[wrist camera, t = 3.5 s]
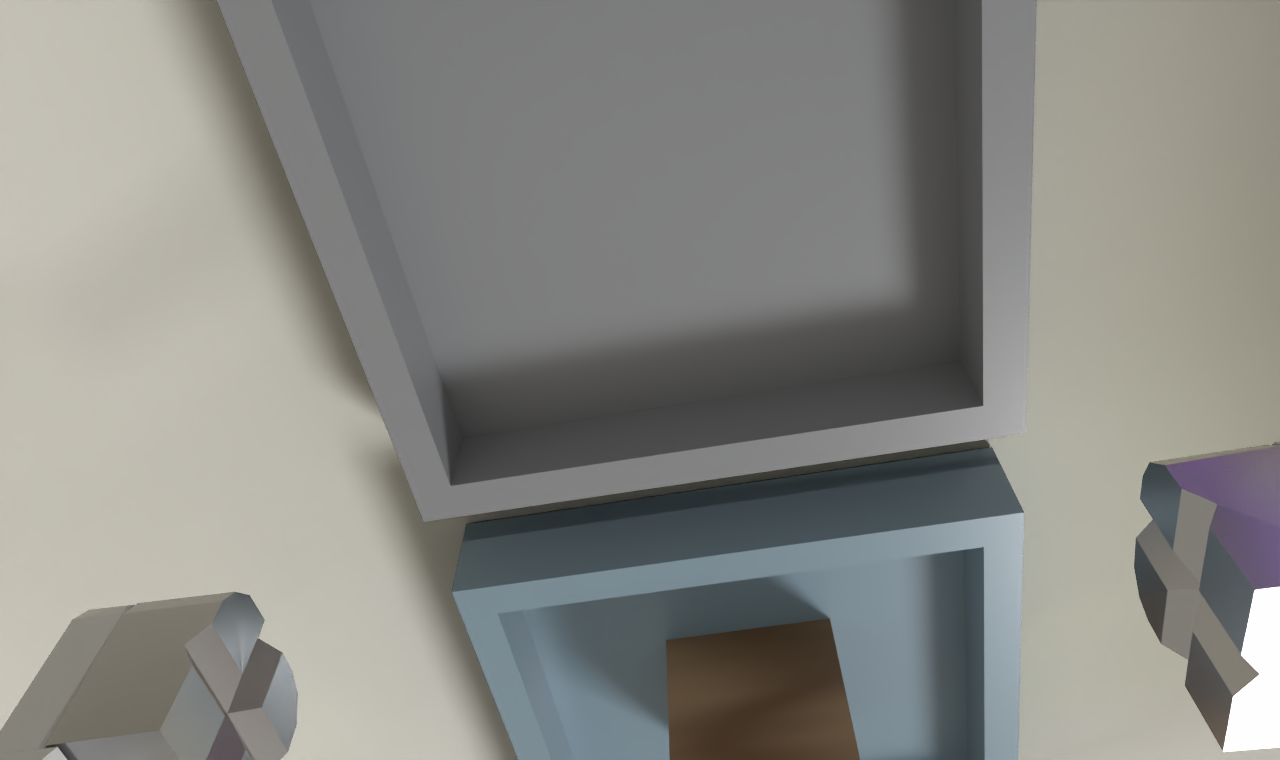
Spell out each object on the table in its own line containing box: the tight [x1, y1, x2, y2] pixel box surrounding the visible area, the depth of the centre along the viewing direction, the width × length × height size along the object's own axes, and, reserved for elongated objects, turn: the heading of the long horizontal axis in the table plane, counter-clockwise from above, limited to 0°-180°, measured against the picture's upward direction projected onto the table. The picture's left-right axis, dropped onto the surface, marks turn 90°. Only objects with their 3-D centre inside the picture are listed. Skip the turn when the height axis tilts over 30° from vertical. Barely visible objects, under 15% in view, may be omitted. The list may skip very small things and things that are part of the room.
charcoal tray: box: [217, 0, 1037, 522], centre depth 18 cm, size 12×12×2 cm
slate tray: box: [452, 447, 1024, 760], centre depth 25 cm, size 12×12×2 cm
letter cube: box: [666, 619, 860, 760], centre depth 24 cm, size 4×4×4 cm
